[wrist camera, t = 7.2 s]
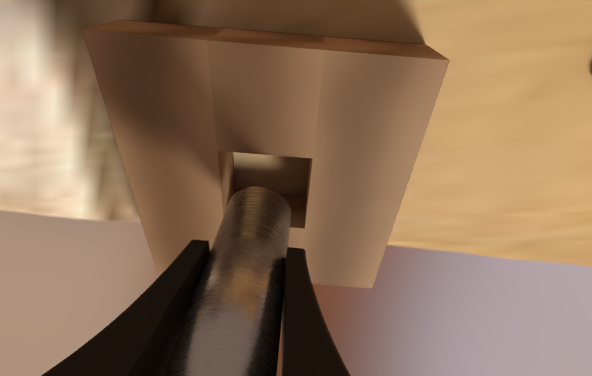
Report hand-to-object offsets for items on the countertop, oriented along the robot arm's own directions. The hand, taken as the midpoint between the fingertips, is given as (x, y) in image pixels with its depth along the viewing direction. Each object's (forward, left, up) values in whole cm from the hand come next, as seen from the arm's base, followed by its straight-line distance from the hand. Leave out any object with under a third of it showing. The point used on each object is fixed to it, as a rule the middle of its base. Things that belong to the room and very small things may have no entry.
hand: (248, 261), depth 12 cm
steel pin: (0, 0, -3) cm, 3 cm away
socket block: (0, 0, -8) cm, 8 cm away
